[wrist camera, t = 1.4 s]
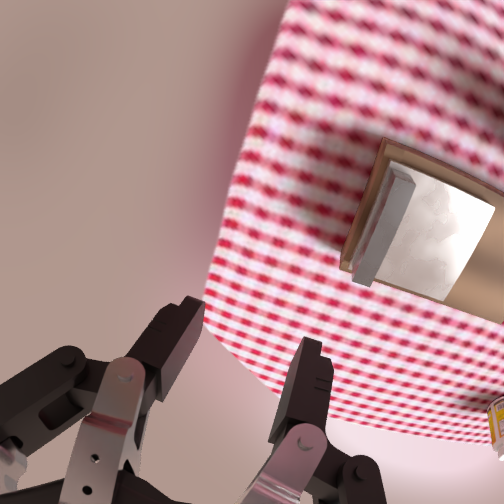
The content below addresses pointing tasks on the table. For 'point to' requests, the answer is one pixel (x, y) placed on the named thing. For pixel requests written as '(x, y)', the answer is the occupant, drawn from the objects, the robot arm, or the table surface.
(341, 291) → the table surface
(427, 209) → the shutter lid
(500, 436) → the supplement bottle
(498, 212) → the socket board
